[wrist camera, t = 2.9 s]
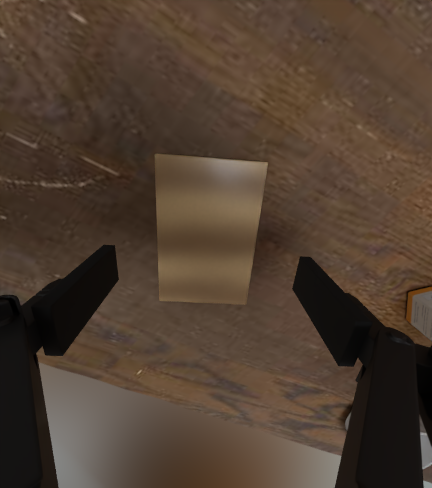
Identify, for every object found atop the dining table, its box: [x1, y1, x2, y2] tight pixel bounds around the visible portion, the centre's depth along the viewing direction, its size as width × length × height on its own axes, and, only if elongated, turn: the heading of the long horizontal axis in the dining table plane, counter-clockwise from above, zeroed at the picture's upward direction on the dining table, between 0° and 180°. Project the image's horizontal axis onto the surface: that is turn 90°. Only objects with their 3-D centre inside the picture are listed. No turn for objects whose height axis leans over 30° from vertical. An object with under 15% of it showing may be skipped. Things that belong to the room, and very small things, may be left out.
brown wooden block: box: [155, 153, 268, 305], centre depth 21 cm, size 14×9×3 cm, turn 176°
